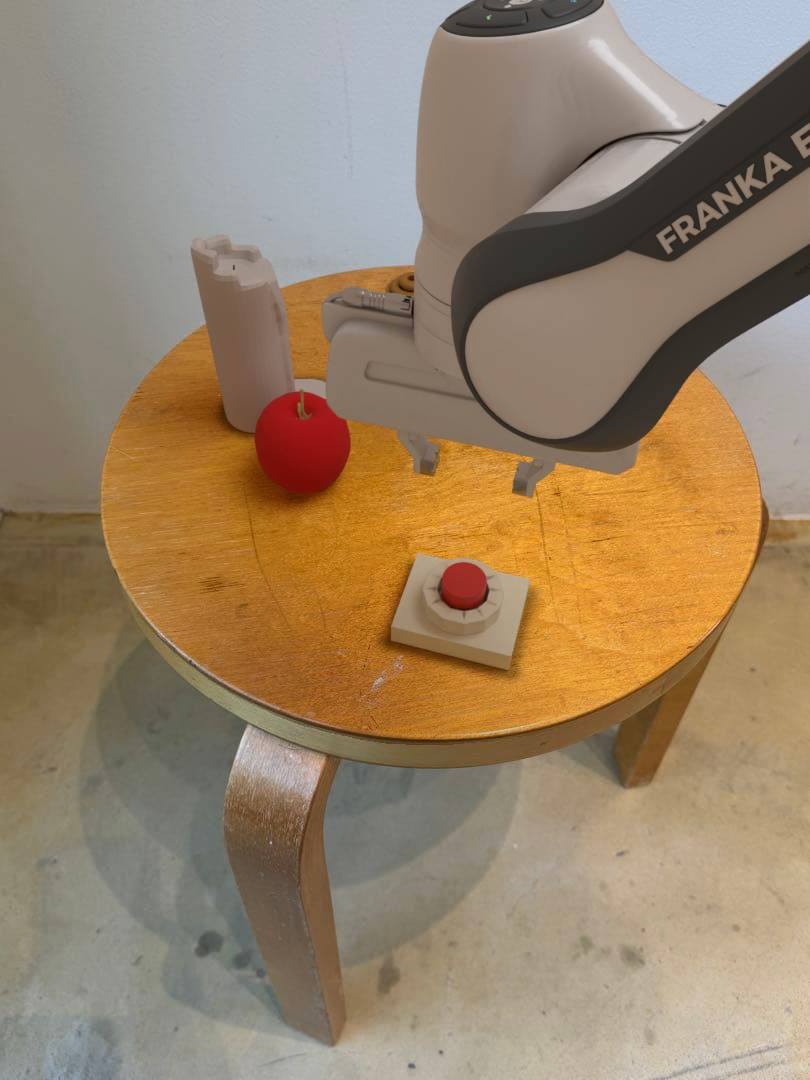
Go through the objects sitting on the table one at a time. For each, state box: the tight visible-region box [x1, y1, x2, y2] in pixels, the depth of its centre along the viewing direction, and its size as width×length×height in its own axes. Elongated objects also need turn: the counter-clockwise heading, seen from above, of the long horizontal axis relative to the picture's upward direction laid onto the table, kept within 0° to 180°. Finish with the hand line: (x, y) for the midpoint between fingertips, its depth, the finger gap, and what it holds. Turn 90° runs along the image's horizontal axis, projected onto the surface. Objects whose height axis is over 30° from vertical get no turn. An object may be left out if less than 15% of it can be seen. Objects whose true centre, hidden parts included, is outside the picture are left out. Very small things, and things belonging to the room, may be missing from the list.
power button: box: [441, 562, 487, 610], centre depth 69 cm, size 4×4×2 cm
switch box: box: [390, 552, 531, 671], centre depth 71 cm, size 10×8×4 cm
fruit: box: [254, 389, 352, 494], centre depth 79 cm, size 9×9×10 cm
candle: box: [190, 233, 326, 434], centre depth 81 cm, size 7×14×20 cm, turn 105°
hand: (474, 479), depth 59 cm, fingers open, 6 cm apart
